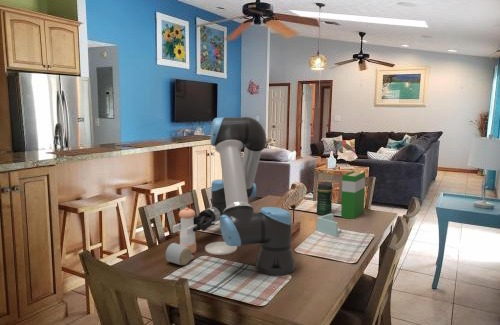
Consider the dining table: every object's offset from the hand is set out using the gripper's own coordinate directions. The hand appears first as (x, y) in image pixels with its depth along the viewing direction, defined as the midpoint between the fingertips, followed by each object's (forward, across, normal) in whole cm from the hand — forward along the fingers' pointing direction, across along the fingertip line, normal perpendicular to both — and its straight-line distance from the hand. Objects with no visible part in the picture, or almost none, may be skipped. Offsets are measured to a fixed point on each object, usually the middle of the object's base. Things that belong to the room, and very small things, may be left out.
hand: (180, 230), depth 162 cm
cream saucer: (-13, -12, -10) cm, 21 cm away
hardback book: (-93, -54, -11) cm, 108 cm away
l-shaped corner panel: (-58, -51, -11) cm, 78 cm away
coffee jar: (-88, -39, -11) cm, 96 cm away
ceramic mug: (+6, -4, -11) cm, 13 cm away
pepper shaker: (-5, 0, -11) cm, 12 cm away
